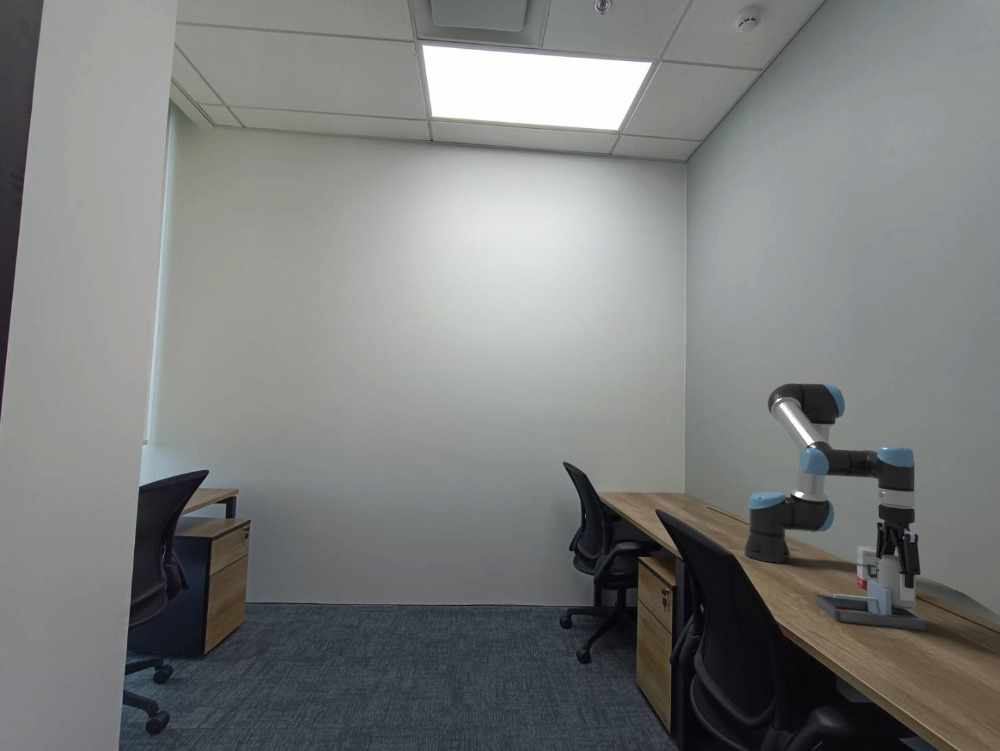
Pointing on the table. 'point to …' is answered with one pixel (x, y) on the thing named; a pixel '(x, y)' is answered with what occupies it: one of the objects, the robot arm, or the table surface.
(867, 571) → the ink box
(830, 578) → the table surface
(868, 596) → the pusher
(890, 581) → the can
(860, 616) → the frame
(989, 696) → the table surface
